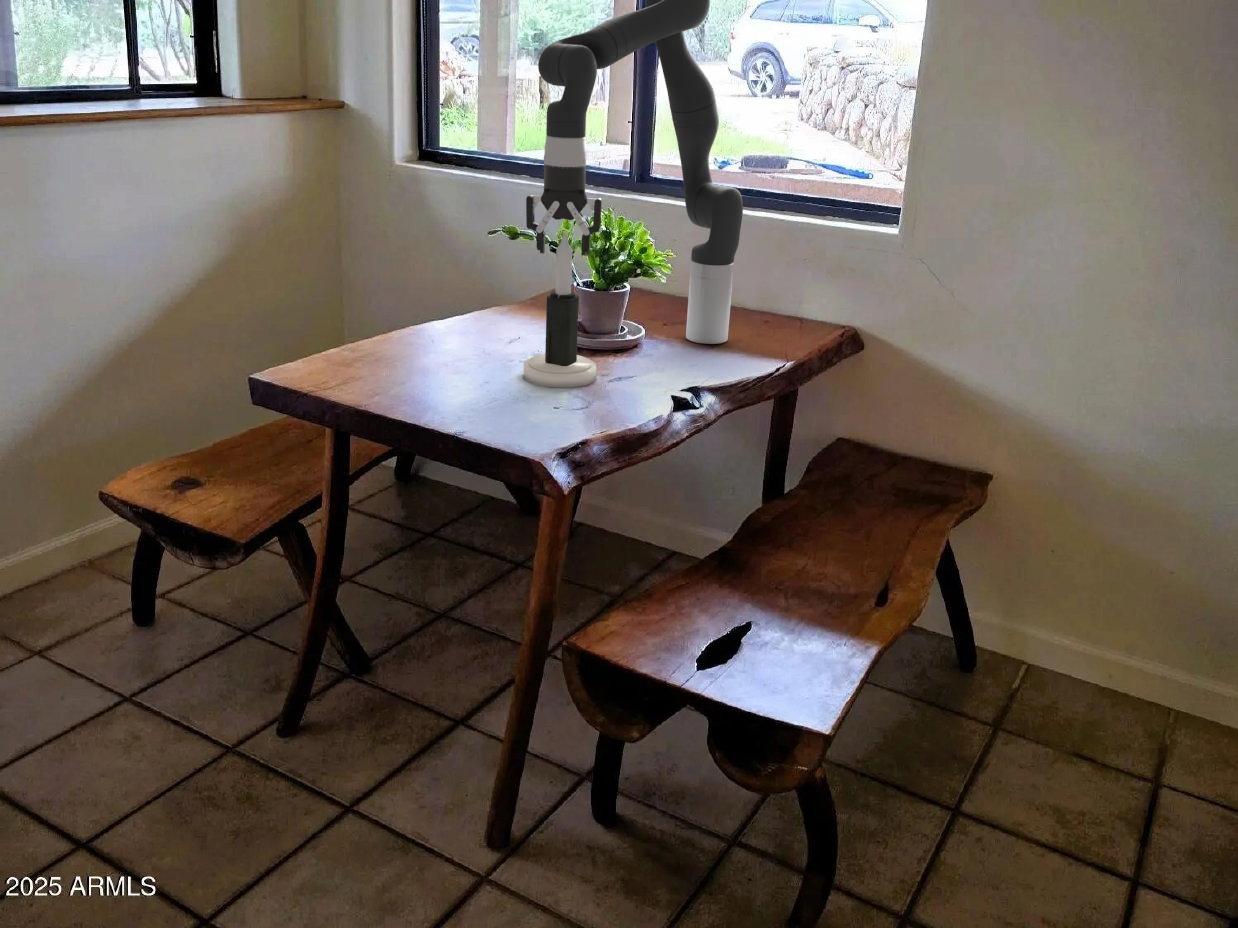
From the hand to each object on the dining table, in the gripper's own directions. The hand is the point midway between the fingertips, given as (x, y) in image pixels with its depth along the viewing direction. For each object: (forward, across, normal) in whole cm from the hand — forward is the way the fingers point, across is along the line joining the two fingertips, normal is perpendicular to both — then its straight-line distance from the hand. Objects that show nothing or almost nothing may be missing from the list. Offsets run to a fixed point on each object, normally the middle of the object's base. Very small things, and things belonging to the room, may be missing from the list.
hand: (562, 253), depth 208 cm
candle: (+21, 0, 0) cm, 21 cm away
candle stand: (+24, 0, 0) cm, 24 cm away
